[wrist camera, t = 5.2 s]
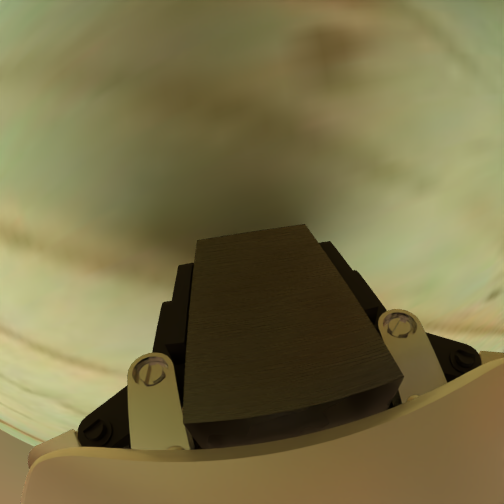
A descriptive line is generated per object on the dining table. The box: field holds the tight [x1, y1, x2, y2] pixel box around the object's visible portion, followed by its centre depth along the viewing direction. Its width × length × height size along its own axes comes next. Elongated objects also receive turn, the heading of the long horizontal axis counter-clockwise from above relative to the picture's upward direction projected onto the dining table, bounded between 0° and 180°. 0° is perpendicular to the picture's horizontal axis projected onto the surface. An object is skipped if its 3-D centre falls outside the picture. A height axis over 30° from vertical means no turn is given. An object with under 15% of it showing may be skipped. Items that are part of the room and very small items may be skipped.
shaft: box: [183, 224, 404, 449], centre depth 13 cm, size 24×4×7 cm, turn 6°
